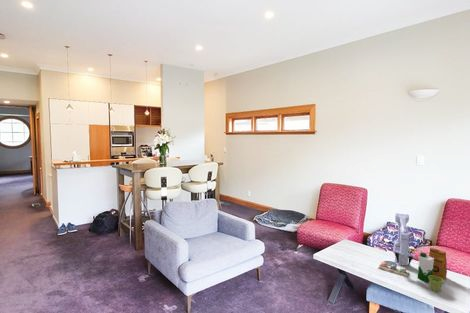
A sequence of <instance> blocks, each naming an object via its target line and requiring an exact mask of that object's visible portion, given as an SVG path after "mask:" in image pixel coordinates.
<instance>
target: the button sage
mask: <svg viewBox="0 0 470 313" xmlns="http://www.w3.org/2000/svg"><path fill="white" fill-rule="evenodd" d="M399 269H400V272H401V273H404V274H406V271H407V268H406V267H403V266H402V267H399Z"/></svg>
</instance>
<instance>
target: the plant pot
mask: <svg viewBox="0 0 470 313" xmlns="http://www.w3.org/2000/svg"><path fill="white" fill-rule="evenodd" d="M428 278H429V282H428V283H429V289H430V290H431V291H433V292H436V293H439V292H441V291H442V287H443V283H444V282H445V279H444V280H443V279H442V278H440V277H437V276H433V275H430V276H428Z"/></svg>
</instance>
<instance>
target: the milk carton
mask: <svg viewBox="0 0 470 313" xmlns="http://www.w3.org/2000/svg"><path fill="white" fill-rule="evenodd" d="M433 263H434V258H432V257H430V256H429V255H428V254H427V253H425V252H420V254H419V255H418V267H417V268H418V269H417V279H419V280H421V281H422V282H425V283H430V282H429V278H428V276H430V275H433Z"/></svg>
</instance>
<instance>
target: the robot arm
mask: <svg viewBox="0 0 470 313" xmlns="http://www.w3.org/2000/svg"><path fill="white" fill-rule="evenodd" d="M394 220H395V223H396V224H397V241H396V242H394V244H393V254H394V259H393V260H392V262H393V263H395V264H396V266H409V267H410V264H411V262H412V260H413V259H415V258H416V255H415V254H413V253H409V249H410V248H409V246H410V240H411V233H410V232H409V227H408V226H407V224H408V223H409V220H410V215H409V214H407V213H399V212H398V213H397V212H396V213H395V218H394Z"/></svg>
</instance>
